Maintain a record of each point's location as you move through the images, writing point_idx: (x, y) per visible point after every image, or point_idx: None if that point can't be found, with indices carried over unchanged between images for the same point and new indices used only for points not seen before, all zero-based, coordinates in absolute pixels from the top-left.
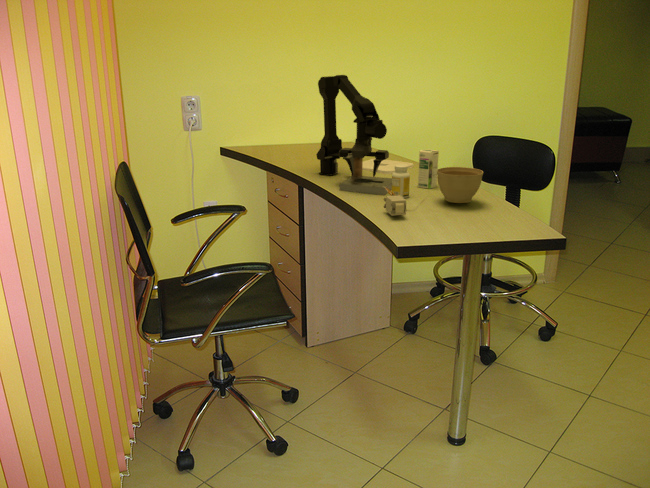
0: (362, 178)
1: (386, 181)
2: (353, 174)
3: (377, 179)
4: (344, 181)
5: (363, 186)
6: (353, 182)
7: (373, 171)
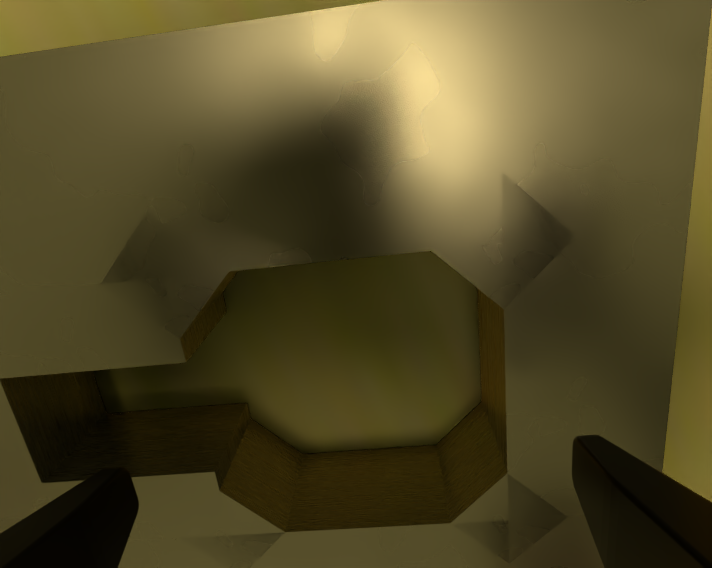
0: (429, 531)
1: (14, 495)
2: (573, 469)
3: (195, 552)
4: (661, 214)
5: (155, 39)
6: (455, 210)
7: (29, 539)
